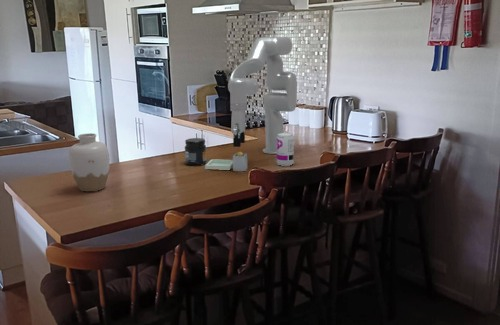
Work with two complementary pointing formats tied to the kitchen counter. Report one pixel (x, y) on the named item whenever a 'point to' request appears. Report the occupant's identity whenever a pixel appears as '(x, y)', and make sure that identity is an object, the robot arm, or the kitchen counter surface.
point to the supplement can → (285, 149)
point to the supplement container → (195, 151)
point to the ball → (239, 154)
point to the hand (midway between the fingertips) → (239, 144)
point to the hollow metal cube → (239, 162)
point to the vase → (89, 163)
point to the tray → (219, 164)
